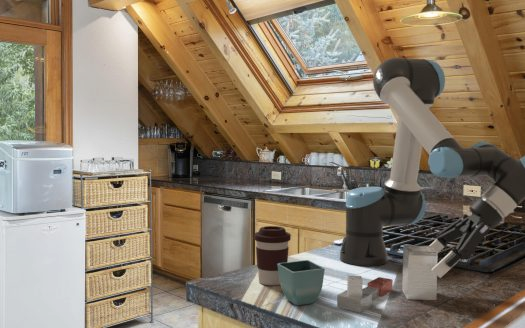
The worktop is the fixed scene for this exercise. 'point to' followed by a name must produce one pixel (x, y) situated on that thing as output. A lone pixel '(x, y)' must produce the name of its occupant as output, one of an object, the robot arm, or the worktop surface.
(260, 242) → the coffee cup
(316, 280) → the flower pot
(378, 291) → the tiny brick pile
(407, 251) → the tall white upright block
